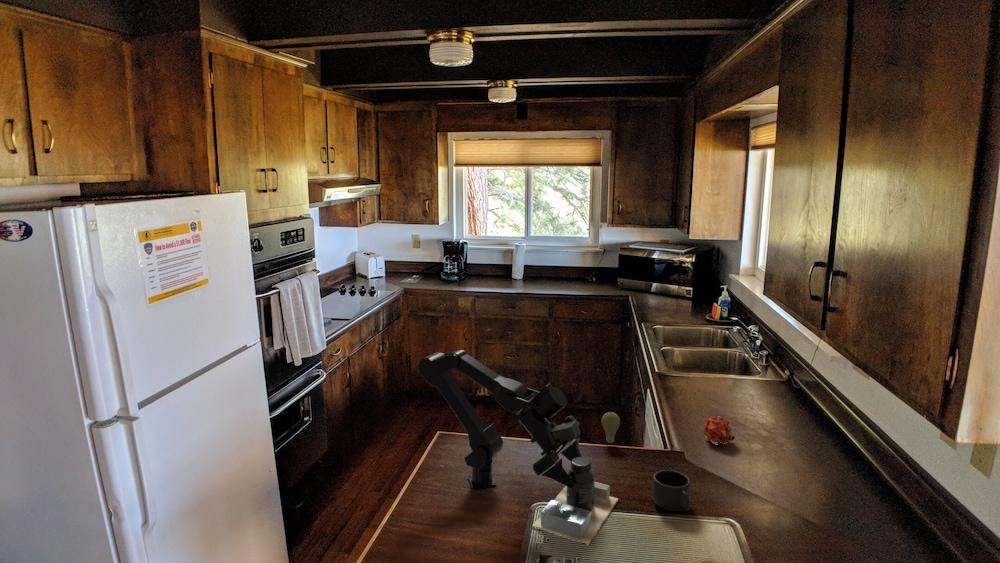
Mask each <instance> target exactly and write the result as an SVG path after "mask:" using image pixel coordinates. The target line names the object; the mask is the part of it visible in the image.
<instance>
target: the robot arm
mask: <svg viewBox="0 0 1000 563" xmlns="http://www.w3.org/2000/svg"><path fill="white" fill-rule="evenodd" d="M453 369H456V370H457V371H458V372H461V374H464V375H465V376H466V377H468V378H469V379H470V380H472V381H474V382H475V383H477V384H478V385H480V386H481V387H483V388H484V389H486V390H487V391H489V393H490V394H492V397H493V398H494V400H495V402H497V403H498V404H499V405H500V406H501V407H502V408H503V409H504V410H506V411H508V412H511V416H512V417H511V424H512V425H514V424H516V423H517V422H518V421H519V423H520V424H521V425H522V426H523V427H524V429H525V430H526V431H527V433H528V434H529V435H530V437H531V439H529V441H530V442H531V443H532V444H534V443H536V444H537V446H539V448H540V449H541V453H540V455H541V456H540V457H539V458H538V459H536V461H535V462H534V463H533V464H532V470H533V472H534V473H535V474H536V476H537V477H539V476H541V477H547V478H549V479H551V480H553V481H556V482H558V483H559V484H562V485H563V486H564V487H565V486H567V487H569V488H572V487H574V484H573V482H572V480H571V479H570V477H569V476H568V474H567V471H566V470H565V469H564V467H563V458H562V457H561V458H560V457H559V453H560V454H561V455H562V456H563V457H565V458H566V459H567V460H568V461H570V462H571V461H572V459H573V458H576V457H583V455H582V454H581V451H580V446H579V444H580V440H581V437H579V436H581V430H580V428H579V426H581V423H580V422H579V421H578V420H577V419H576V418H575V417H574V416H573V415H569V416H566V417H565V419H564V422H563V423H561V424H557V423H556V422H555V421H553V420H552V421H551V422H550V421H549V420H548V419H551V418H552V417H554V416H555V415H556V414H558V413H559V412H560V411H561V410H563V409H564V408H565V407H566V406H567V405H568V399H567V396H566V395H565V393H564V392H563V390H560V389H559V388H558V387H555V386H553V385H552V384H551V383H547V384H546V385H545V386H544V387H543V388H542V389H541V390H540V391H539V390H535V389H532V388H530V387H527V386H526V385H525V384H524V383H522V382H520V381H517V380H515V379H512V378H509V377H504V376H501V375H500V374H498V373H497V372H495V371H494V370H492V369H491V368H489V367H488V366H486V365H485V364H484V363H481V362H480V361H479V360H477V359H475V358H474V357H472V356H471V355H470V354H468V352H467V351H466V350H464V349H458V350H456V351H450V352H446V353H443V352H436V351H435V352H433V353H431V354H429V355H427V356H426V357H423V358H422V359H421V360H420V361H419V363H418V368H417V370H418V373H419V374H420V376H421V377H422V378H423V379H424V380H425V381H426V383H427V384H429V385H431V386H432V387H435V388H436V389H437V390H439V393H440V394H441V395H442V396H443V398H444V400H445V401H446V403H447V404H448V405H449V407H450V409H451V411H452V412H453V413H454V415H455V417H456V418H457V419H458V420H459V422H460V423H461V425H462V426H463V428H464V430H465V431H466V432H467V435H468V444H469V447H470V449H471V452H470V453H468V454H467V455H466V456H465V457H464V460H465V464H466V466H467V467H470V468H471V469H470V470H471V474H470V475H468V476H467V479H468V478H469V479H468V481H469V483H470V485H471V487H472V490H476V489H484V488H490V487H496V486H497V482H496V480H495V478H494V476H493V475H494V474H493V472H494V471H493V470H494V469H493V465H494V464H493V463H494V462H493V459H494V458H495V457H497V456H498V454H499V453H500V452H501V451H502V450H503V447H504V440H503V435H502V434H501V433H500V432H499V430H498V428H497V426H496V425H495V424H494V423H491V424H490V425H488V424H486V423H485V422H484V421H483V420H482V419H481V417H480V416H479V414H478V413H477V411H476V410H475V408H474V407H473V406H472V404H471V403H470V400H469V399H468V398H467V396H466V394H464V393H463V391H462V390H461V388H460V386H459V385H458V383H457V381H456V380H455V378H454V374H453ZM530 404H532V405H531V406H530ZM519 409H520V410H519Z"/></svg>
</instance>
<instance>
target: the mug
mask: <svg viewBox="0 0 1000 563" xmlns="http://www.w3.org/2000/svg"><path fill="white" fill-rule="evenodd" d="M691 483H692V482H691V479H690V477H689V476H688V475H686V474H684V473H682V472H680V471H677V470H672V469H664V470H663V469H662V470H658V471H656V472H655V473H654V474H653V475H652V490H651V492H652V499H653V501H654V503H655V504H656V505H657V506H658V507H660V508H662V509H663V510H667V511H672V512H677V511H679V512H680V511H684V512H689V511H690V508H691V507H690V506H691V505H690V501H691V500H690V499H691V487H692V486H691Z"/></svg>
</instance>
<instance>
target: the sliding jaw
mask: <svg viewBox="0 0 1000 563" xmlns="http://www.w3.org/2000/svg"><path fill="white" fill-rule="evenodd" d="M540 516H541V526H543V527H546V528H549V529H552V530H555V531H559V532H562V533H565V534H568V535H571V536H574V537H577V538H582V537H583V535H584V534H585V532H586V531H587V529H588V528H589V527H590V525H591V511H588V510H585V509H582V508H578V507H575V506H571V505H568V504H564V503H561V502H558V501H554V499H551V500H550V501H549V502H548V503H547V505H546V506H545V507H544V508H543V510H541V512H540Z"/></svg>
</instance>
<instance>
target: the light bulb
mask: <svg viewBox="0 0 1000 563" xmlns="http://www.w3.org/2000/svg"><path fill="white" fill-rule="evenodd" d="M620 424H621V418H620V417H619V415H618V414H617V413H615V412H613V411H608V412H607V411H606V413H604V414H603V416H602V417H601V425H602V428H603V429H604V433H605V436H606V438H605V439H606V440H605V441H606V442H607V443H608V444H612V443H614V442H615V436H616V433H617V431H618V429H619V427H620Z"/></svg>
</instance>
